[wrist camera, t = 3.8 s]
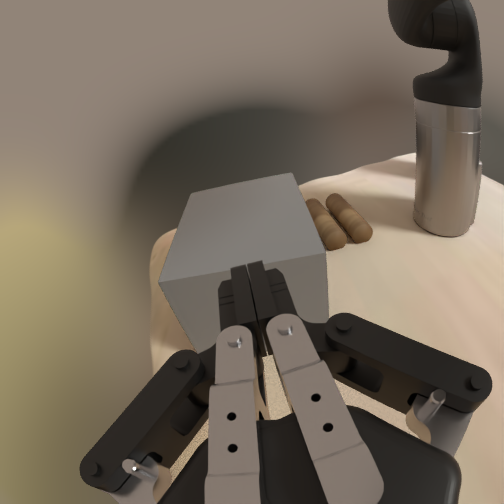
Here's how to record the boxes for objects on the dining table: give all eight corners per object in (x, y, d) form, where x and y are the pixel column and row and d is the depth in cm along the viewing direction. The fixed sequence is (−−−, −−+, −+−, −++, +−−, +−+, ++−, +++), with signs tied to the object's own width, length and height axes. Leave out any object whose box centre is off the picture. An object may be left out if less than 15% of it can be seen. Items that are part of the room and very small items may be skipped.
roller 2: (337, 212, 44) (345, 196, 42) (365, 246, 35) (376, 227, 34) (322, 207, 43) (330, 191, 41) (349, 241, 34) (359, 222, 33)
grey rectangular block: (302, 243, 38) (291, 172, 32) (329, 341, 25) (325, 252, 19) (213, 260, 39) (191, 193, 33) (201, 359, 26) (157, 282, 20)
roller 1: (317, 216, 44) (322, 200, 42) (342, 252, 35) (350, 233, 34) (300, 213, 43) (305, 197, 41) (323, 249, 35) (330, 230, 33)
